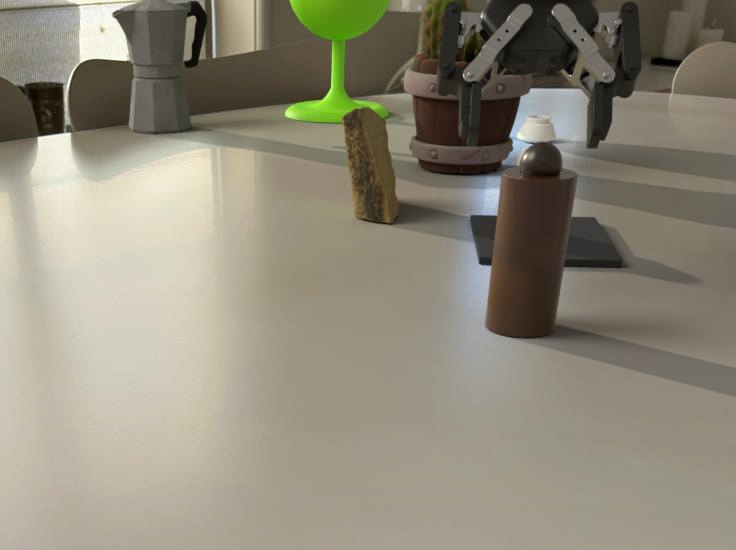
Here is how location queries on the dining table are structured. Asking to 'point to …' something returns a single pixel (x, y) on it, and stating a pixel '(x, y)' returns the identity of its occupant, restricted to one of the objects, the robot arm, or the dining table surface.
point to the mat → (582, 248)
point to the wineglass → (336, 52)
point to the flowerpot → (441, 113)
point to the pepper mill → (530, 244)
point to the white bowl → (537, 129)
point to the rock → (370, 166)
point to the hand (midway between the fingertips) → (533, 140)
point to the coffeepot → (160, 62)
